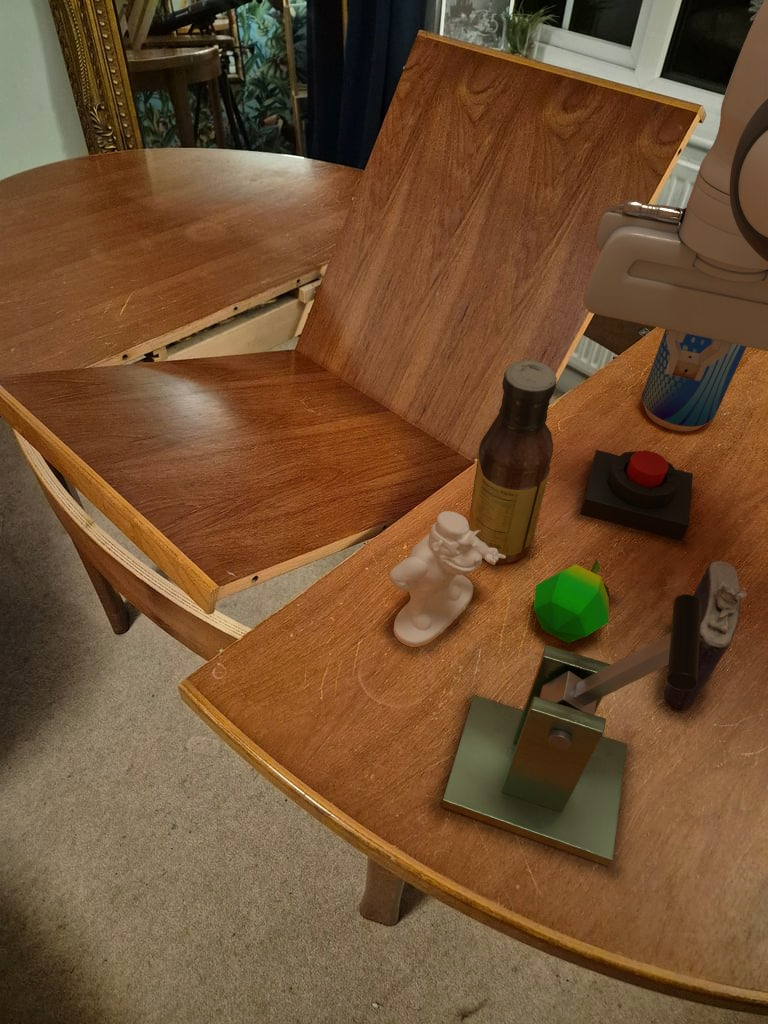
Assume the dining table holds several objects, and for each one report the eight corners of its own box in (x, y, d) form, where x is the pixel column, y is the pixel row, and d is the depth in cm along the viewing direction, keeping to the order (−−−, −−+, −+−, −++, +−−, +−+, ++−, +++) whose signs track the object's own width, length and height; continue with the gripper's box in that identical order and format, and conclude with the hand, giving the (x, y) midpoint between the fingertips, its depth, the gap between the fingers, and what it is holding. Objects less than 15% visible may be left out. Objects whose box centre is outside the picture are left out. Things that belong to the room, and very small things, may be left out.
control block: (686, 488, 78) (699, 460, 75) (681, 541, 73) (695, 512, 70) (591, 464, 80) (600, 436, 77) (579, 514, 75) (589, 485, 72)
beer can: (724, 433, 85) (784, 308, 73) (656, 438, 84) (706, 312, 72) (691, 389, 91) (742, 267, 79) (627, 393, 89) (669, 270, 78)
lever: (713, 608, 41) (680, 585, 41) (710, 689, 38) (674, 665, 37) (574, 683, 50) (546, 665, 50) (561, 755, 46) (530, 736, 46)
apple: (570, 598, 58) (611, 527, 63) (506, 602, 62) (549, 536, 68) (609, 664, 60) (646, 591, 65) (545, 664, 65) (584, 595, 70)
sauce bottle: (502, 511, 74) (540, 340, 60) (543, 551, 71) (594, 379, 57) (450, 536, 72) (477, 363, 58) (490, 578, 68) (530, 406, 54)
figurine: (436, 667, 61) (452, 575, 53) (376, 624, 64) (381, 529, 56) (497, 602, 66) (521, 508, 58) (439, 564, 69) (453, 469, 61)
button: (664, 468, 75) (669, 455, 73) (661, 491, 72) (667, 478, 71) (628, 459, 75) (632, 446, 74) (624, 482, 73) (629, 469, 72)
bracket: (623, 751, 57) (677, 657, 48) (608, 867, 51) (667, 785, 42) (471, 702, 59) (495, 604, 50) (440, 807, 53) (461, 717, 44)
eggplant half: (673, 620, 66) (718, 539, 58) (707, 632, 65) (757, 551, 57) (658, 706, 60) (705, 628, 52) (695, 719, 59) (749, 642, 51)
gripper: (600, 211, 55) (560, 366, 65) (896, 266, 51) (805, 422, 61) (611, 180, 59) (571, 330, 69) (885, 229, 56) (801, 381, 65)
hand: (683, 374), depth 65 cm, fingers closed
